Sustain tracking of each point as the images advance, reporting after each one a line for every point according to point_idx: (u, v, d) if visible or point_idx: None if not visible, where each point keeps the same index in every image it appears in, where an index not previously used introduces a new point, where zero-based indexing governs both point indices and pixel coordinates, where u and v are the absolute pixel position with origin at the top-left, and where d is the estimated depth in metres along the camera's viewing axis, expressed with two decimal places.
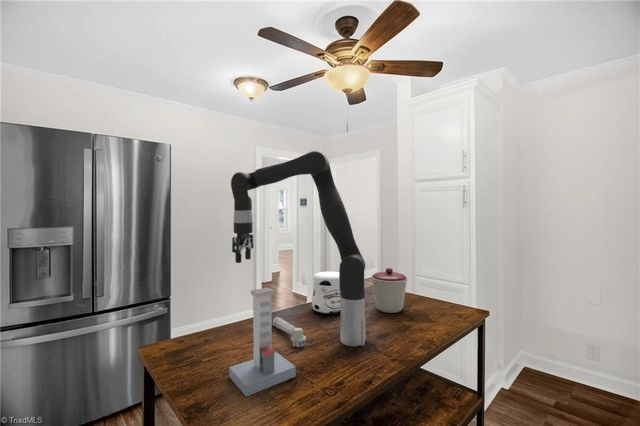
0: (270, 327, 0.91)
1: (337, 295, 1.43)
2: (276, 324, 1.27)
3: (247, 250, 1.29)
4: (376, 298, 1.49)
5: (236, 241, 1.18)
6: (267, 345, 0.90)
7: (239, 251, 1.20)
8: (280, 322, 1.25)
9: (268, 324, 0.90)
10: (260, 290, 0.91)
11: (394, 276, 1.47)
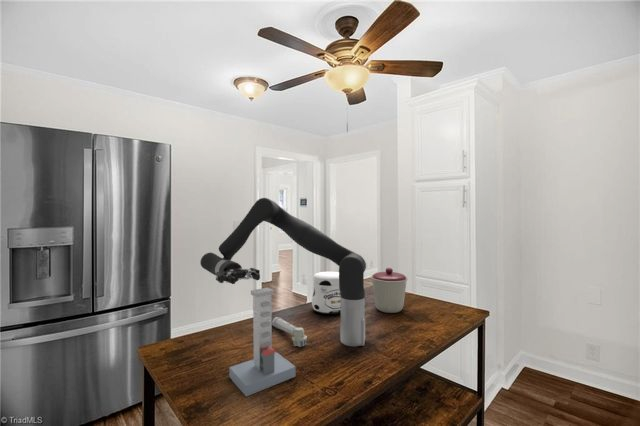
0: (270, 327, 0.91)
1: (337, 295, 1.43)
2: (276, 324, 1.27)
3: (252, 275, 1.06)
4: (376, 298, 1.49)
5: (216, 275, 1.03)
6: (267, 345, 0.90)
7: (225, 275, 1.01)
8: (280, 322, 1.25)
9: (268, 324, 0.90)
10: (260, 290, 0.91)
11: (394, 276, 1.47)
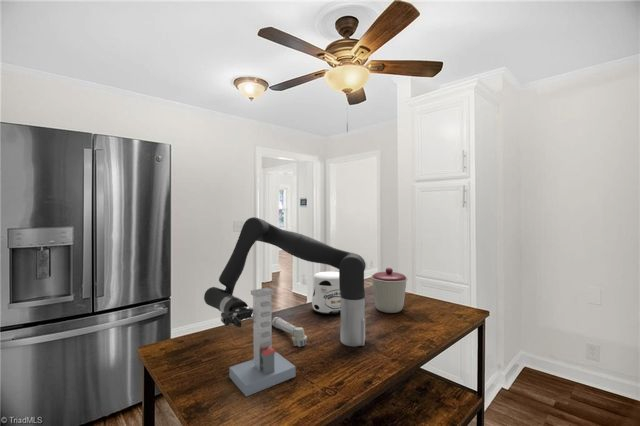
0: (270, 327, 0.91)
1: (337, 295, 1.43)
2: (276, 324, 1.27)
3: None
4: (376, 298, 1.49)
5: (222, 316, 1.00)
6: (267, 345, 0.90)
7: (231, 317, 0.97)
8: (280, 322, 1.25)
9: (268, 324, 0.90)
10: (260, 290, 0.91)
11: (394, 276, 1.47)
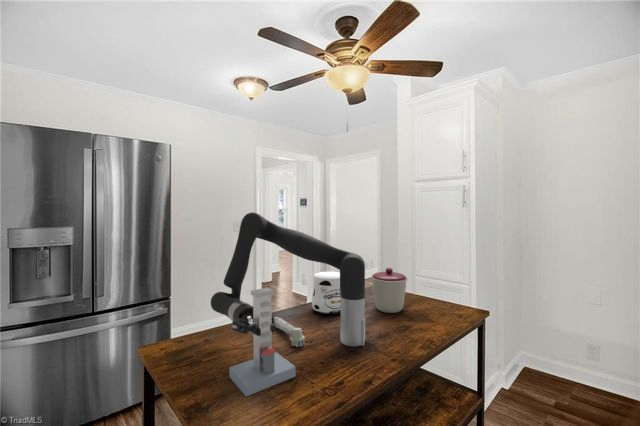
0: (270, 327, 0.91)
1: (337, 295, 1.43)
2: (276, 324, 1.28)
3: None
4: (376, 298, 1.49)
5: (235, 325, 0.92)
6: (267, 345, 0.90)
7: (249, 325, 0.91)
8: (279, 322, 1.26)
9: (268, 324, 0.90)
10: (260, 290, 0.91)
11: (394, 276, 1.47)
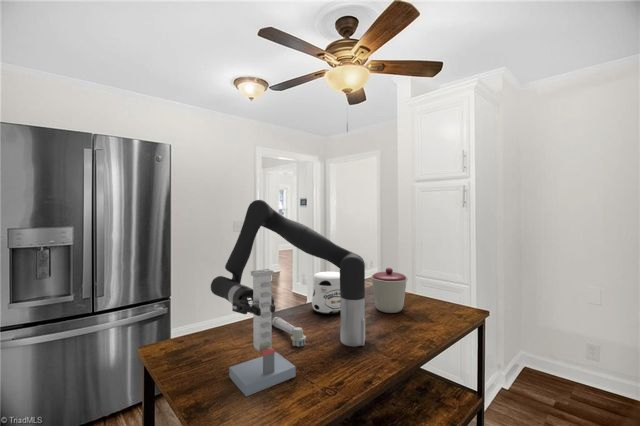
0: (270, 308, 0.91)
1: (337, 295, 1.43)
2: (275, 324, 1.28)
3: None
4: (376, 298, 1.49)
5: (235, 306, 0.92)
6: (267, 325, 0.89)
7: (249, 306, 0.91)
8: (280, 322, 1.26)
9: (268, 304, 0.90)
10: (260, 271, 0.91)
11: (394, 276, 1.47)
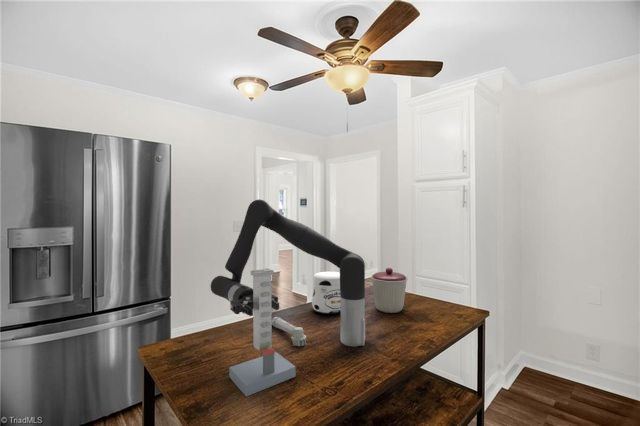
0: (270, 307, 0.91)
1: (337, 295, 1.43)
2: (275, 324, 1.28)
3: (271, 304, 0.95)
4: (376, 298, 1.49)
5: (231, 304, 0.93)
6: (267, 325, 0.89)
7: (241, 305, 0.90)
8: (279, 322, 1.26)
9: (268, 304, 0.90)
10: (260, 270, 0.91)
11: (394, 276, 1.47)
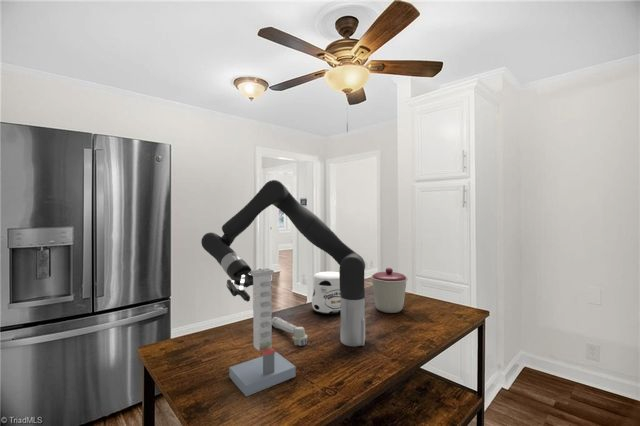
0: (270, 307, 0.91)
1: (337, 295, 1.43)
2: (275, 324, 1.28)
3: None
4: (376, 298, 1.49)
5: (228, 284, 1.02)
6: (267, 325, 0.89)
7: (239, 289, 1.00)
8: (279, 322, 1.26)
9: (268, 304, 0.90)
10: (260, 270, 0.91)
11: (394, 276, 1.47)
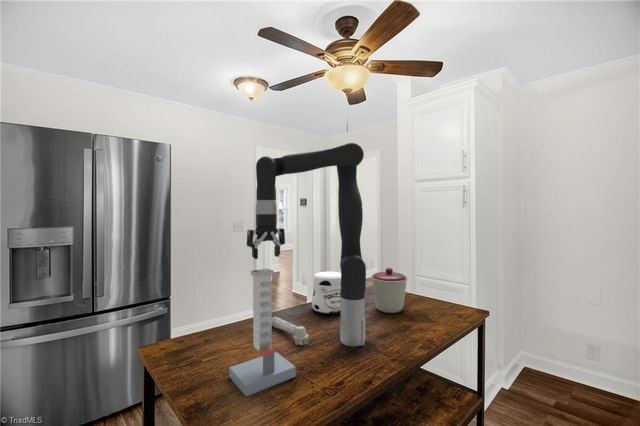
0: (270, 307, 0.91)
1: (337, 295, 1.43)
2: (275, 324, 1.28)
3: (276, 246, 1.13)
4: (376, 298, 1.49)
5: (249, 234, 1.05)
6: (267, 325, 0.89)
7: (254, 246, 1.06)
8: (279, 322, 1.26)
9: (268, 304, 0.90)
10: (260, 270, 0.91)
11: (394, 276, 1.47)
